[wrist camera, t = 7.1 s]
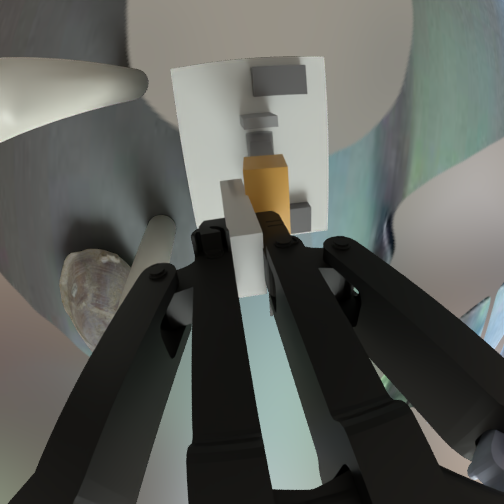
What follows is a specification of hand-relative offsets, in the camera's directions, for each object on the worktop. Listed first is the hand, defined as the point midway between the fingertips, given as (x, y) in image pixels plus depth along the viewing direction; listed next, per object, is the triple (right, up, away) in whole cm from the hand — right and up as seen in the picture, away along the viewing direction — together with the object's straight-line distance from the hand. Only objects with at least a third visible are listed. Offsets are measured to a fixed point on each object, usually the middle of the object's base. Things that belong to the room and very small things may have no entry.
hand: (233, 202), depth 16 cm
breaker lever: (+2, +5, +6) cm, 8 cm away
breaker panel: (+1, +8, +11) cm, 13 cm away
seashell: (-17, -7, +18) cm, 26 cm away
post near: (-10, +13, +6) cm, 17 cm away
